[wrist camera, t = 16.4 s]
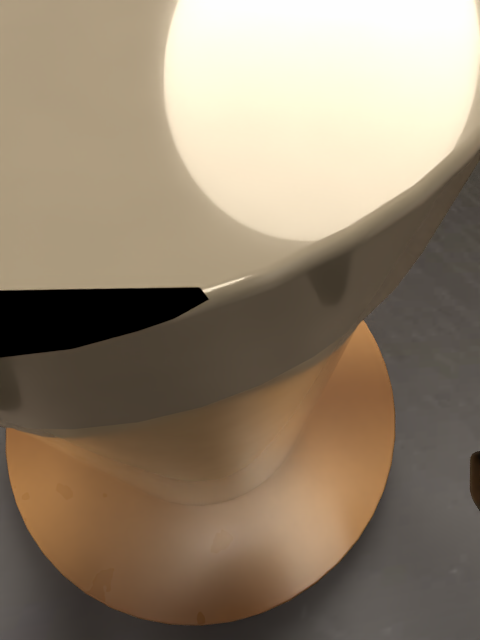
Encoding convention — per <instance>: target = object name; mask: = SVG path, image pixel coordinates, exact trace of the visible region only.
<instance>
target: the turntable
mask: <svg viewBox="0 0 480 640" xmlns="http://www.w3.org/2000/svg"><path fill="white" fill-rule="evenodd" d="M394 441H395V408H394V401H393V393H392V387H391V383H390V379H389V376H388V372H387V368H386V365H385V362H384V360H383V357H382V355H381V352H380V350H379V348H378V345H377V343H376V341H375V339H374V338H373V336H372V334H371V332H370V331H369V329H368V327H367V325H366V324H365V322H364V321H362V322H361V323H360V324H359V325H358V327H357V329H356V330H355V332H354V334H353V336H352V338H351V340H350V342H349V344H348V345H347V347H346V349H345V351H344V353H343V355H342V357H341V359H340V361H339V362H338V364H337V366H336V368H335V370H334V372H333V374H332V376H331V377H330V379H329V381H328V383H327V385H326V387H325V389H324V391H323V392H322V394H321V396H320V398H319V400H318V402H317V404H316V406H315V408H314V409H313V411H312V413H311V415H310V417H309V419H308V421H307V423H306V424H305V426H304V428H303V430H302V432H301V434H300V436H299V438H298V440H297V441H296V443H295V445H294V447H293V449H292V451H291V452H290V454H289V456H288V457H287V458H286V460H285V461H284V463H283V464H282V465H281V467H280V468H279V469H278V470H277V471H276V472H275V473H274V474H273V475H272V476H271V477H270V478H269V479H267V480H266V481H265V482H264V483H262V484H261V485H260V486H259V487H257V488H255V489H253V490H252V491H250V492H248V493H247V494H245V495H242V496H240V497H238V498H235V499H233V500H230V501H226V502H222V503H218V504H213V505H204V506H187V505H180V504H174V503H169V502H166V501H163V500H160V499H157V498H155V497H153V496H151V495H149V494H147V493H145V492H143V491H141V490H139V489H136V488H134V487H132V486H130V485H128V484H126V483H124V482H122V481H120V480H118V479H116V478H114V477H112V476H110V475H108V474H106V473H104V472H102V471H100V470H98V469H95V468H93V467H91V466H89V465H87V464H85V463H83V462H81V461H79V460H77V459H75V458H73V457H71V456H69V455H67V454H65V453H63V452H61V451H59V450H57V449H55V448H52V447H50V446H48V445H46V444H44V443H42V442H40V441H38V440H36V439H34V438H32V437H30V436H28V435H26V434H24V433H22V432H20V431H18V430H16V429H14V428H6V458H7V465H8V472H9V479H10V483H11V487H12V490H13V494H14V497H15V501H16V504H17V507H18V509H19V511H20V513H21V516H22V518H23V520H24V522H25V524H26V527H27V529H28V531H29V532H30V534H31V535H32V537H33V538H34V540H35V542H36V543H37V545H38V546H39V548H40V549H41V551H42V552H43V554H44V555H45V556H46V557H47V558H48V559H49V560H50V562H51V563H52V564H53V565H54V566H55V567H56V568H57V569H58V570H59V572H60V573H61V574H62V575H63V576H64V577H66V578H67V579H68V580H69V581H71V582H72V583H73V584H74V585H76V586H77V587H78V588H79V589H81V590H82V591H83V592H84V593H86V594H87V595H89V596H91V597H93V598H94V599H96V600H98V601H100V602H101V603H103V604H105V605H107V606H109V607H110V608H112V609H115V610H118V611H120V612H123V613H126V614H129V615H131V616H134V617H137V618H139V619H144V620H149V621H154V622H159V623H164V624H169V625H196V626H202V625H211V624H219V623H227V622H233V621H237V620H240V619H244V618H247V617H251V616H254V615H258V614H261V613H264V612H266V611H268V610H270V609H272V608H275V607H277V606H279V605H281V604H283V603H285V602H288V601H290V600H291V599H293V598H295V597H296V596H298V595H299V594H301V593H302V592H304V591H305V590H307V589H308V588H310V587H311V586H313V585H314V584H316V583H317V582H318V581H319V580H320V579H321V578H323V577H324V576H325V575H326V574H327V573H328V572H329V571H330V570H332V569H333V568H334V567H335V566H336V565H337V564H338V563H339V562H340V561H341V560H342V559H343V557H344V556H345V555H346V554H347V553H348V551H349V550H350V549H351V548H352V547H353V545H354V544H355V543H356V542H357V541H358V539H359V537H360V536H361V534H362V533H363V531H364V529H365V528H366V526H367V525H368V523H369V521H370V520H371V518H372V516H373V514H374V512H375V510H376V507H377V505H378V503H379V501H380V498H381V496H382V494H383V491H384V489H385V485H386V482H387V478H388V474H389V471H390V467H391V463H392V456H393V449H394Z"/></svg>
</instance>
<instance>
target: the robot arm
mask: <svg viewBox="0 0 480 640" xmlns="http://www.w3.org/2000/svg"><path fill="white" fill-rule="evenodd" d="M470 492H471V496H472V499H473V501H474V503H475V504H476V506H477V508H478V509H479V511H480V451H478V452H475V453H473V454H472V456H471V459H470Z"/></svg>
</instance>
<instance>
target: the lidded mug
mask: <svg viewBox="0 0 480 640" xmlns="http://www.w3.org/2000/svg"><path fill="white" fill-rule="evenodd" d="M479 161H480V0H0V427H4V428H14V429H16V430H18V431H20V432H22V433H24V434H26V435H28V436H30V437H32V438H34V439H36V440H38V441H40V442H42V443H44V444H46V445H48V446H50V447H52V448H55V449H57V450H59V451H61V452H63V453H65V454H67V455H69V456H71V457H73V458H75V459H77V460H79V461H81V462H83V463H85V464H87V465H89V466H91V467H93V468H95V469H98V470H100V471H102V472H104V473H106V474H108V475H110V476H112V477H114V478H116V479H118V480H120V481H122V482H124V483H126V484H128V485H130V486H132V487H134V488H136V489H139V490H141V491H143V492H145V493H147V494H149V495H151V496H153V497H155V498H157V499H160V500H163V501H166V502H169V503H174V504H180V505H187V506H204V505H213V504H218V503H222V502H226V501H230V500H233V499H235V498H238V497H240V496H242V495H245V494H247V493H248V492H250V491H252V490H253V489H255V488H257V487H259V486H260V485H261V484H262V483H264V482H265V481H266V480H267V479H269V478H270V477H271V476H272V475H273V474H274V473H275V472H276V471H277V470H278V469H279V468H280V467H281V465H282V464H283V463H284V461H285V460H286V458H287V457H288V456H289V454H290V452H291V451H292V449H293V447H294V445H295V443H296V441H297V440H298V438H299V436H300V434H301V432H302V430H303V428H304V426H305V424H306V423H307V421H308V419H309V417H310V415H311V413H312V411H313V409H314V408H315V406H316V404H317V402H318V400H319V398H320V396H321V394H322V392H323V391H324V389H325V387H326V385H327V383H328V381H329V379H330V377H331V376H332V374H333V372H334V370H335V368H336V366H337V364H338V362H339V361H340V359H341V357H342V355H343V353H344V351H345V349H346V347H347V345H348V344H349V342H350V340H351V338H352V336H353V334H354V332H355V330H356V329H357V327H358V325H359V324H360V323H361V322H362V321H363V320H364V319H365V318H366V317H367V316H368V315H369V314H370V313H371V312H372V311H373V310H374V309H375V308H376V307H377V306H378V305H379V304H380V303H381V302H382V301H383V300H384V299H385V298H386V297H388V296H389V295H390V294H391V293H392V292H393V291H394V290H395V289H396V287H397V286H398V285H399V283H400V282H401V281H402V279H403V278H404V277H405V275H406V274H407V273H408V271H409V270H410V269H411V267H412V266H413V265H414V263H415V262H416V261H417V259H418V258H419V257H420V255H421V254H422V252H423V251H424V249H425V248H426V246H427V244H428V243H429V241H430V240H431V238H432V236H433V235H434V233H435V232H436V230H437V228H438V227H439V225H440V223H441V222H442V220H443V219H444V217H445V215H446V214H447V212H448V211H449V209H450V207H451V206H452V204H453V202H454V201H455V199H456V198H457V196H458V194H459V193H460V191H461V190H462V188H463V186H464V185H465V183H466V182H467V180H468V178H469V177H470V175H471V173H472V172H473V170H474V169H475V167H476V165H477V164H478V162H479Z"/></svg>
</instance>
